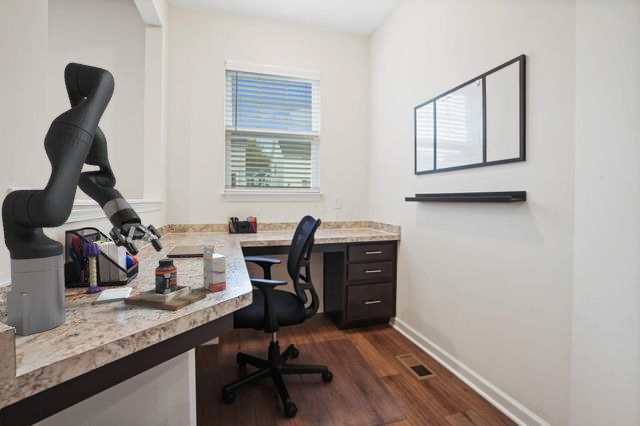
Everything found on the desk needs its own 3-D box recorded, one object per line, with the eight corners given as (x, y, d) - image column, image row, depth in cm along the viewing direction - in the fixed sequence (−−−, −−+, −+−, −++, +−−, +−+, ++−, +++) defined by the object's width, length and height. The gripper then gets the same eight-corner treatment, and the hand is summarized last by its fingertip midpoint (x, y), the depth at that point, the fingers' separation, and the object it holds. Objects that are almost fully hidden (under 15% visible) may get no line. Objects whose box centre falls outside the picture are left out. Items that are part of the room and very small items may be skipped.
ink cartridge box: (226, 289, 101) (226, 247, 100) (212, 292, 97) (212, 248, 97) (216, 284, 107) (216, 244, 107) (203, 287, 104) (202, 246, 103)
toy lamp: (101, 293, 97) (99, 243, 97) (83, 295, 95) (81, 244, 94) (101, 289, 101) (100, 241, 101) (84, 291, 99) (83, 242, 98)
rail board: (176, 310, 81) (176, 299, 81) (124, 302, 88) (124, 292, 88) (206, 297, 92) (206, 287, 92) (158, 291, 99) (158, 281, 99)
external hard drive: (93, 306, 86) (103, 294, 97) (126, 302, 90) (132, 291, 101) (93, 301, 86) (102, 289, 97) (126, 297, 90) (131, 286, 101)
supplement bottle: (173, 298, 88) (172, 261, 87) (152, 299, 87) (151, 261, 86) (179, 292, 94) (179, 257, 93) (159, 293, 93) (159, 258, 92)
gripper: (105, 207, 88) (133, 247, 84) (147, 207, 101) (173, 241, 97) (93, 224, 89) (120, 264, 86) (136, 222, 103) (161, 256, 99)
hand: (148, 251), depth 92 cm, fingers open, 8 cm apart
